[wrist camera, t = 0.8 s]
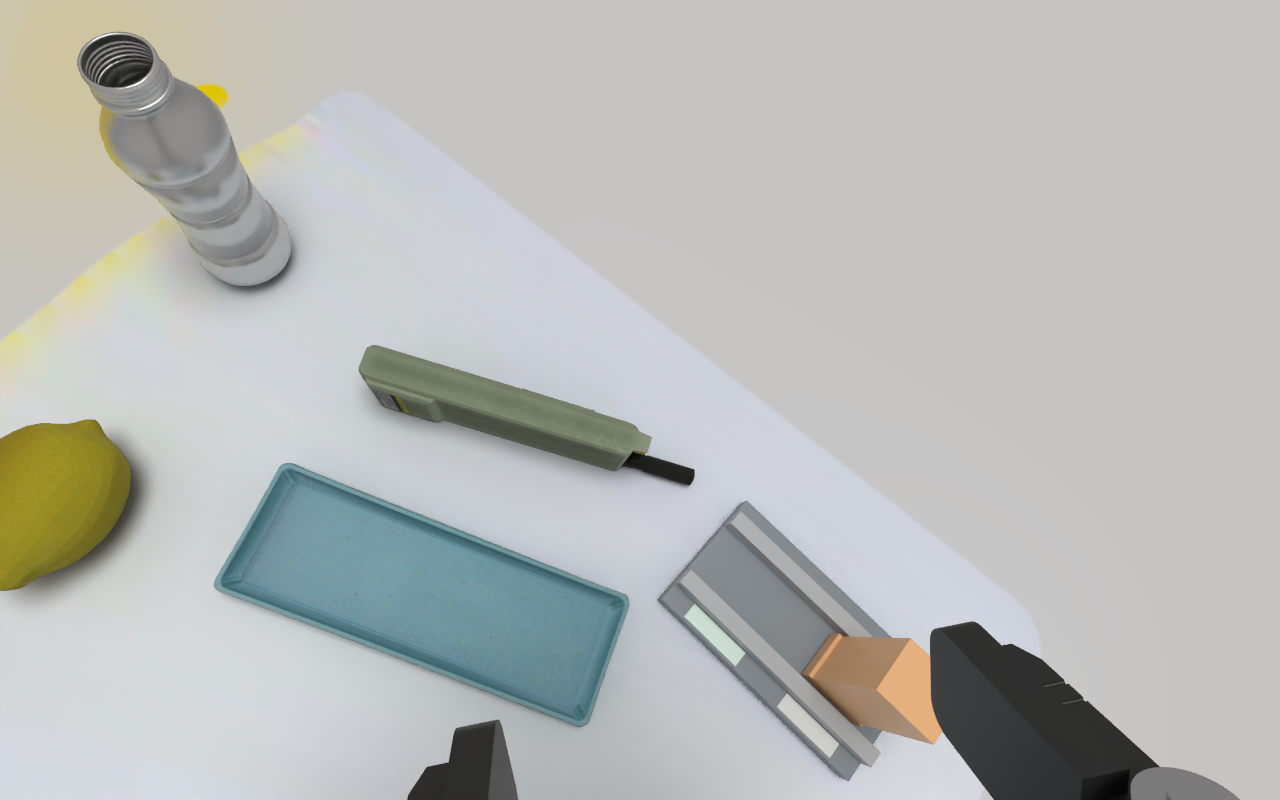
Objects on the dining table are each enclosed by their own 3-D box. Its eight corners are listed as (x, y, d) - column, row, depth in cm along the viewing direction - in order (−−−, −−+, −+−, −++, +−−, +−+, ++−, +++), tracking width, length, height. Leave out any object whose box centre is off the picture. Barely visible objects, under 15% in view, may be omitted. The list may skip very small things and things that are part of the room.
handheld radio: (389, 366, 53) (694, 459, 55) (373, 405, 52) (684, 499, 54) (371, 335, 47) (717, 442, 49) (352, 379, 46) (706, 486, 48)
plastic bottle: (307, 227, 55) (204, 22, 36) (287, 302, 53) (166, 126, 34) (221, 214, 54) (70, -4, 35) (197, 290, 52) (21, 101, 33)
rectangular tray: (627, 597, 51) (633, 596, 49) (583, 725, 48) (586, 730, 45) (293, 467, 50) (283, 459, 47) (224, 589, 46) (209, 587, 44)
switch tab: (882, 681, 50) (970, 695, 41) (853, 724, 49) (937, 748, 39) (831, 633, 51) (907, 634, 41) (801, 674, 49) (872, 685, 40)
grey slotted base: (912, 666, 53) (935, 668, 50) (839, 776, 49) (859, 785, 47) (740, 503, 54) (752, 496, 52) (657, 599, 51) (666, 598, 48)
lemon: (83, 415, 48) (4, 376, 40) (186, 463, 48) (126, 433, 40) (-33, 559, 44) (-145, 546, 36) (79, 611, 44) (-8, 608, 37)
